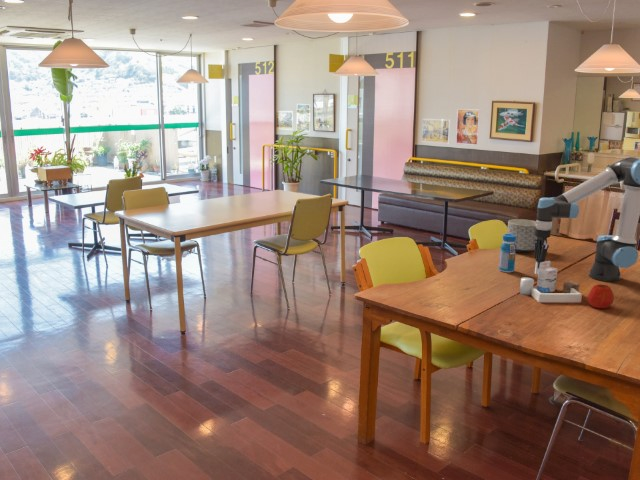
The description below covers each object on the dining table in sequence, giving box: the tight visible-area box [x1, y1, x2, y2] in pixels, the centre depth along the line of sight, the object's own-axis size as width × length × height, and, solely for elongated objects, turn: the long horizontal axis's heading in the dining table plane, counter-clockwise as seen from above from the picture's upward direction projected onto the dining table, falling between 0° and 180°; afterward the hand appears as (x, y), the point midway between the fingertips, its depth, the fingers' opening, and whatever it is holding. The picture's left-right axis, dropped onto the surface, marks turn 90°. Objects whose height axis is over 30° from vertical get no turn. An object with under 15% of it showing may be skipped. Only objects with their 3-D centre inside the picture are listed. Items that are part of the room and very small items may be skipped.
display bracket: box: [531, 287, 583, 303], centre depth 288 cm, size 20×9×4 cm, turn 92°
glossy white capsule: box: [519, 276, 535, 296], centre depth 296 cm, size 6×6×7 cm
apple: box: [587, 283, 615, 309], centre depth 278 cm, size 11×11×11 cm
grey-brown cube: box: [562, 281, 580, 293], centre depth 297 cm, size 5×5×5 cm
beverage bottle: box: [498, 233, 517, 273], centre depth 331 cm, size 8×8×20 cm
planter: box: [506, 218, 537, 254], centre depth 374 cm, size 19×19×18 cm
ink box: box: [536, 260, 559, 293], centre depth 298 cm, size 8×5×15 cm, turn 123°
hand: (537, 273), depth 310 cm, fingers closed
